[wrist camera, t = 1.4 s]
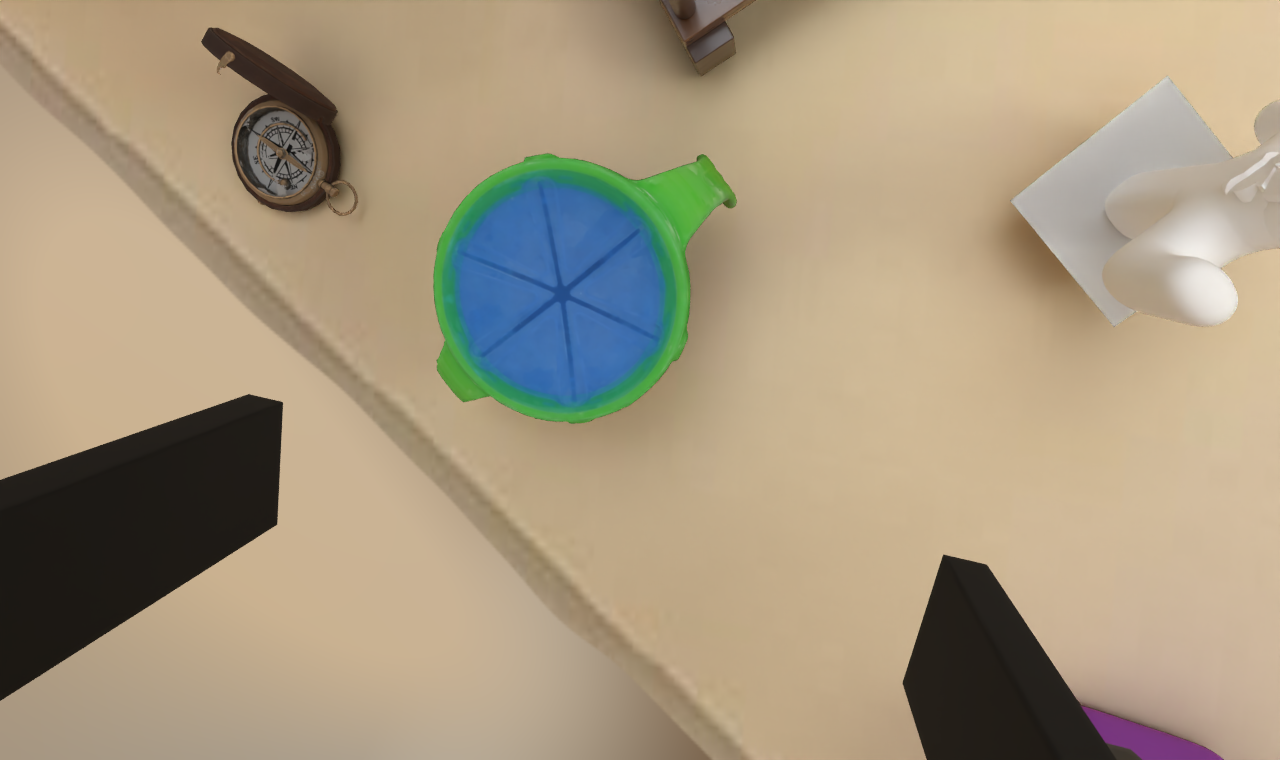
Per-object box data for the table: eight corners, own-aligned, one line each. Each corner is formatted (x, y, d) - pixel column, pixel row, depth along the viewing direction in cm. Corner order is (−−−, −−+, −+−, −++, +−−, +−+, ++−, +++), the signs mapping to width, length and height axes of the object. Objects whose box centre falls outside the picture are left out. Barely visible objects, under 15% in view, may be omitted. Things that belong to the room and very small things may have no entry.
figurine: (1241, 196, 32) (1650, 177, 17) (1056, 330, 34) (1276, 412, 20) (1144, 73, 31) (1479, -53, 17) (963, 218, 34) (1119, 217, 19)
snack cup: (543, 425, 40) (472, 493, 30) (442, 265, 38) (335, 281, 29) (788, 286, 36) (799, 312, 26) (684, 103, 35) (655, 57, 25)
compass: (224, 171, 39) (109, 160, 32) (286, 45, 37) (176, 4, 30) (338, 255, 39) (247, 263, 32) (405, 134, 37) (324, 114, 30)
